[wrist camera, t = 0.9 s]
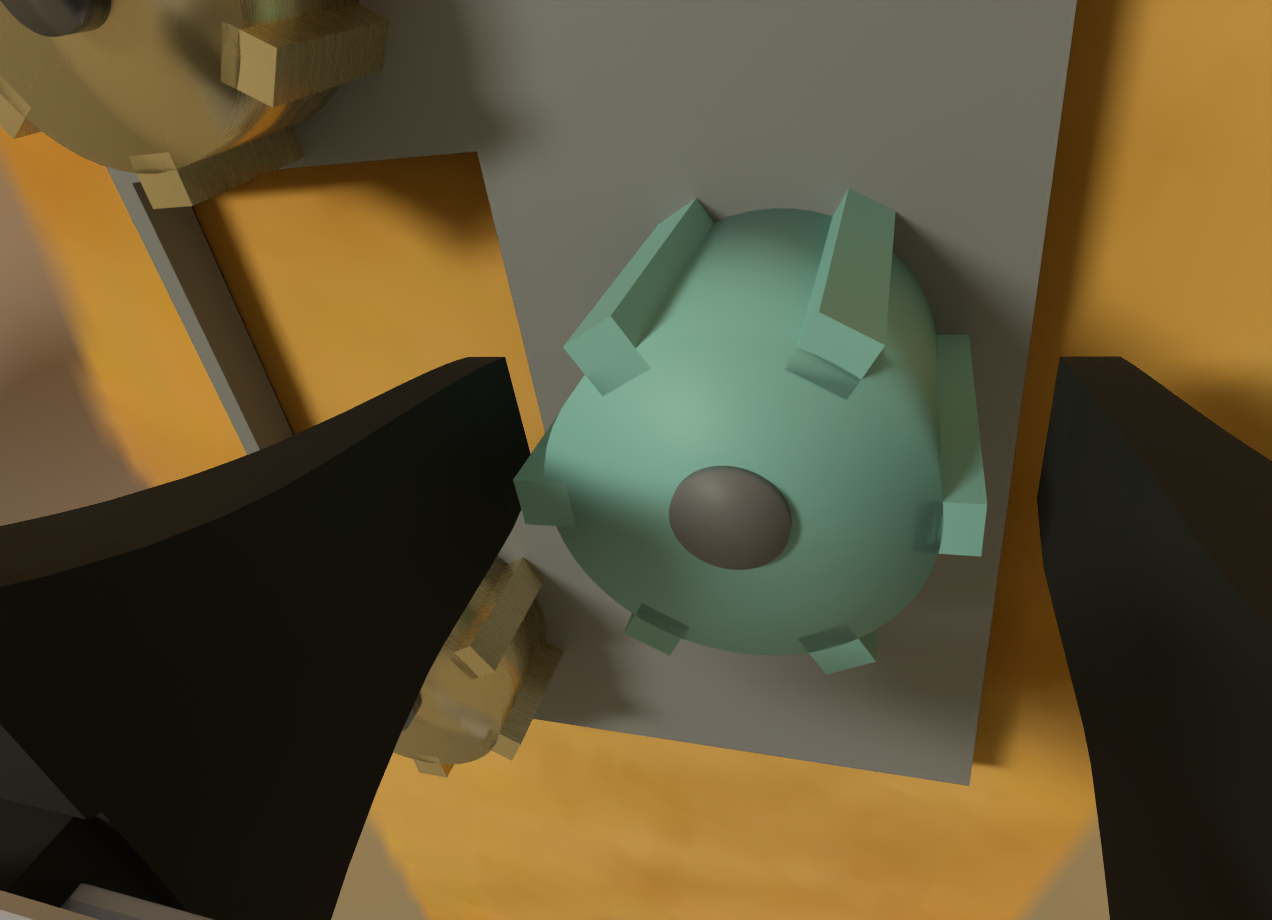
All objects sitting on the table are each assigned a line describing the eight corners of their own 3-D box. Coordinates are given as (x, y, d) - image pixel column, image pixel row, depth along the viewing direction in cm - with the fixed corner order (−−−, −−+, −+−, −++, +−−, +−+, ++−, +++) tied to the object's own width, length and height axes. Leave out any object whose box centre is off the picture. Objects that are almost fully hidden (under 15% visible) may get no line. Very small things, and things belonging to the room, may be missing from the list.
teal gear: (954, 496, 13) (965, 701, 10) (636, 480, 15) (554, 650, 11) (982, 179, 10) (1012, 315, 7) (588, 204, 12) (462, 324, 9)
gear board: (966, 745, 17) (976, 932, 14) (383, 664, 22) (295, 791, 19) (1164, -783, 7) (1382, -1387, 3) (-63, -311, 11) (-438, -386, 8)
